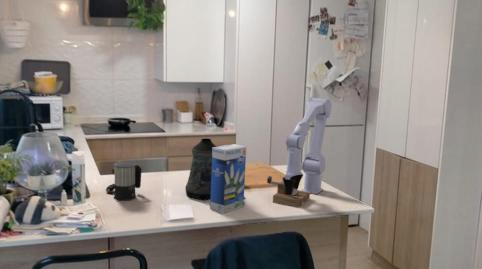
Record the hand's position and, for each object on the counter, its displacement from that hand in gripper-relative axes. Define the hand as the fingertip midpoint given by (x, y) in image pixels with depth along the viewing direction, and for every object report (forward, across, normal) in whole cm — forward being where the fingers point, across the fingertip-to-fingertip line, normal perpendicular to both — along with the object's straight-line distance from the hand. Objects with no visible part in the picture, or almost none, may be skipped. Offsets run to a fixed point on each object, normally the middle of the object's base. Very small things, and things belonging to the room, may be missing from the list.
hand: (292, 191), depth 213 cm
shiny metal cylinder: (+4, 0, 0) cm, 4 cm away
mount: (+4, 0, 0) cm, 4 cm away
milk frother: (+4, -36, +66) cm, 75 cm away
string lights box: (+4, -25, +19) cm, 32 cm away
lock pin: (-2, 0, +8) cm, 8 cm away
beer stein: (+4, -14, +37) cm, 40 cm away
